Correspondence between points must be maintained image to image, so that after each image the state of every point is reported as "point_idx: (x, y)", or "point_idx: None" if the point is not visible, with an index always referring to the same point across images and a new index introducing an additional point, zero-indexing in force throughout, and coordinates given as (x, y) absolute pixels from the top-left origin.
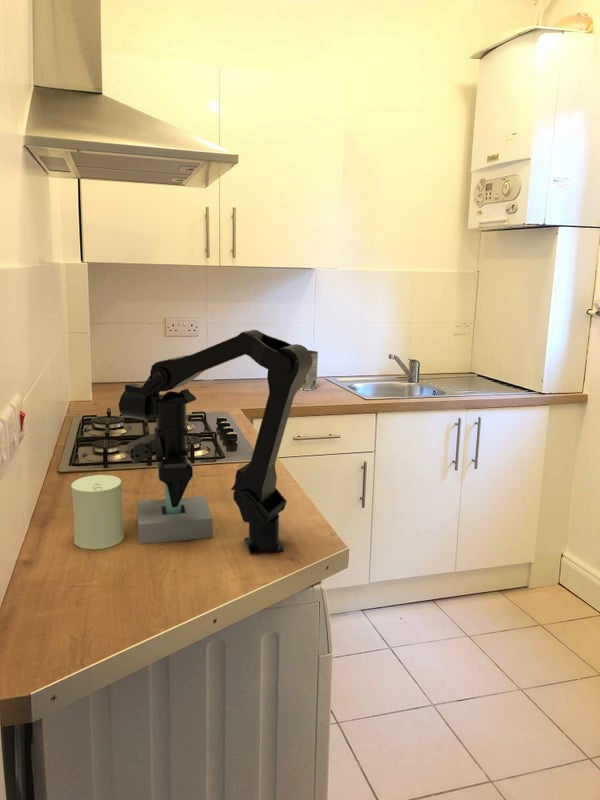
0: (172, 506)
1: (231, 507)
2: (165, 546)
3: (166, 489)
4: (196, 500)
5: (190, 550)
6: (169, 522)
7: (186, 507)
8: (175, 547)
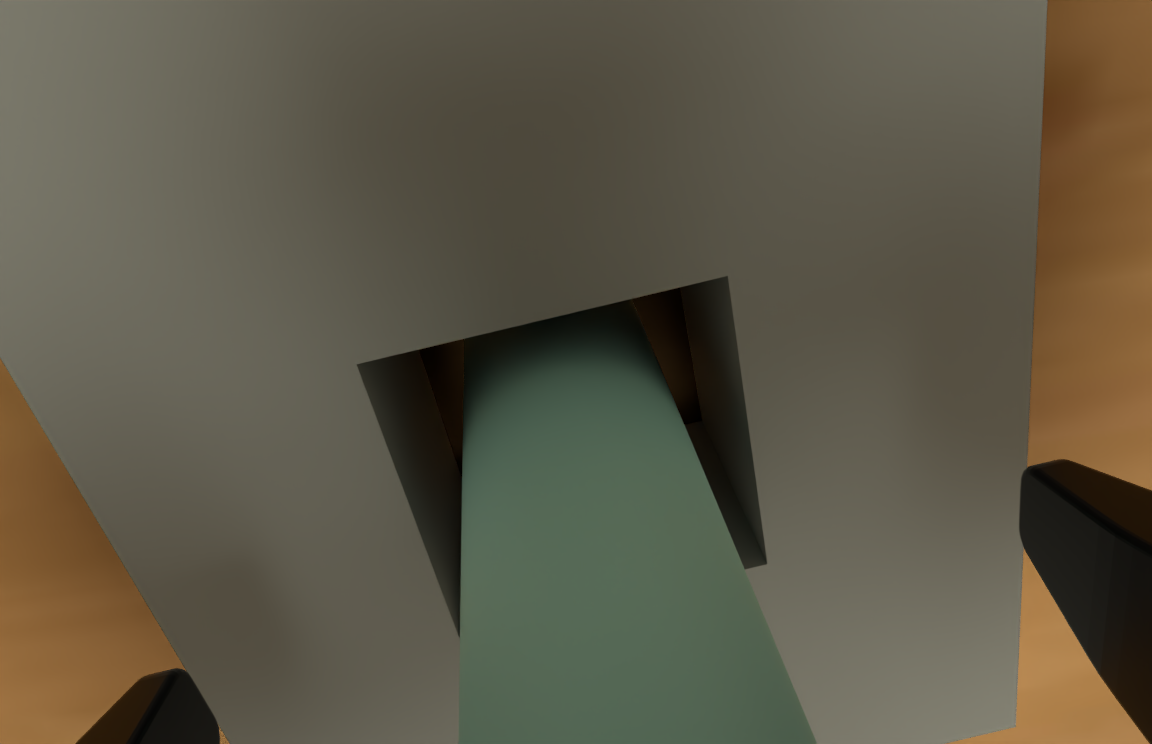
0: (139, 688)
1: (1018, 736)
2: None
3: (513, 702)
4: (895, 672)
5: (11, 582)
6: (94, 500)
7: None
8: (40, 441)
